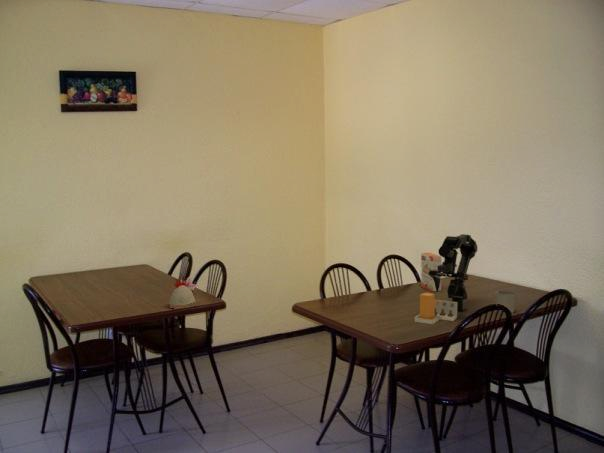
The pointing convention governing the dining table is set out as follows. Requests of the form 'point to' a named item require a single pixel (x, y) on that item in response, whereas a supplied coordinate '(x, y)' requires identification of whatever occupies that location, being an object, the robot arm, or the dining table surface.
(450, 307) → the breaker bank
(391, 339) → the dining table surface
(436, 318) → the frame
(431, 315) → the cap
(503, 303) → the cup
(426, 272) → the cracker box
